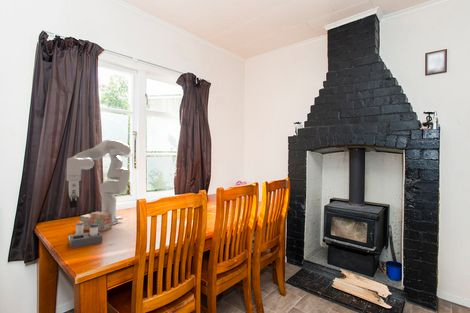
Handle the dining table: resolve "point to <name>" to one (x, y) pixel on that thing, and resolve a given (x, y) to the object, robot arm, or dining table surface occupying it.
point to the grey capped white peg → (93, 229)
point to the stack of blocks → (97, 220)
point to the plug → (79, 227)
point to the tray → (73, 235)
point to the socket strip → (84, 240)
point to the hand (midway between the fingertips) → (72, 206)
